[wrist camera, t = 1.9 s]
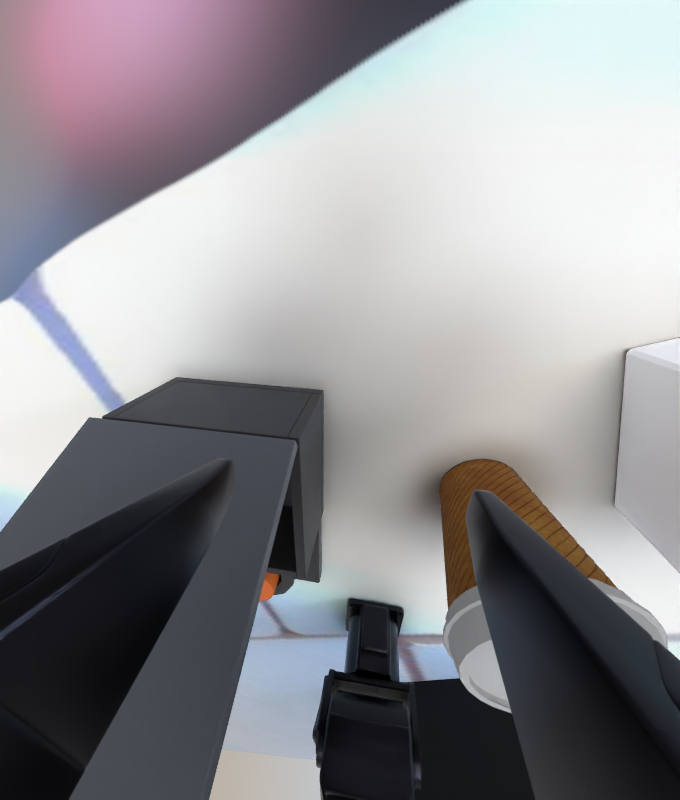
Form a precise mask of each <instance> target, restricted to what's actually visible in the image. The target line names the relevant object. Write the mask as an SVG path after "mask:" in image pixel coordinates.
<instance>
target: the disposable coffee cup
mask: <svg viewBox="0 0 680 800" xmlns="http://www.w3.org/2000/svg"><path fill="white" fill-rule="evenodd" d="M474 490H485V491H490V492H492V493H494V494H495V495H496V496H497V497H498V498H499V499H500V500H502V501H503V502H504V503H505V504H506V505H507V506H508V507H509V508H510V509H512V510H513V511H514V512H515V513H516V514H517V515H518V516H519V517H520V518H522V519H523V520H524V521H525V522H526V523H527V524H528V525H529V526H530V527H532V528H533V529H534V530H535V531H536V532H537V533H538V534H539V535H540V536H542V537H543V538H544V539H545V540H546V541H547V542H548V543H549V544H550V545H552V546H553V547H554V548H555V549H556V550H557V551H558V552H559V553H560V554H562V555H563V556H564V557H565V558H566V559H567V560H568V561H569V562H570V563H572V564H573V565H574V566H575V567H576V568H577V569H578V570H579V571H580V572H582V573H583V574H584V575H585V576H586V577H587V578H588V579H589V580H591V581H592V582H593V583H594V584H595V585H596V586H597V587H598V588H599V589H601V590H602V591H603V592H604V593H605V594H606V595H607V596H608V597H609V598H611V599H612V600H613V601H614V602H615V603H616V604H617V605H618V606H619V607H621V608H622V609H623V610H624V611H625V612H626V613H627V614H628V615H629V616H631V617H632V618H633V619H634V620H635V621H636V622H637V623H638V624H639V625H641V626H642V627H643V628H644V629H645V630H646V631H647V632H648V633H649V634H650V635H651V636H652V638H653V640H657V641H659V642H660V643H661V644H662V645H663V646H664V647H665V648H666V649H667V650H668V644H667V635H666V633H665V630H664V628H663V627H662V625H661V624H660V623H659V622H658V621H657V619H656V618H655V617H654V616H653V615H652V614H651V613H650V612H649V611H648V610H646V609H645V608H643V607H642V606H640V605H639V604H637V603H636V602H634V601H633V600H632V599H631V598H630V597H629V596H628V595H626V594H625V593H624V592H623V591H621V590H619V589H618V588H617V587H616V586H615V585H614V584H613V582H612V581H611V580H610V579H609V578H608V577H607V576H606V575H605V573H604V572H603V571H602V570H601V569H600V568H599V567H598V566H597V565H596V564H595V562H594V560H593V559H592V558H591V557H589V556H588V555H587V554H586V552H585V550H584V549H583V548H582V547H581V546H580V545H579V544H578V543H577V542H576V541H575V539H574V538H573V537H572V536H571V535H570V534H569V532H568V531H567V530H566V529H565V528H564V527H563V526H562V524H561V523H560V522H559V521H558V520H557V519H556V518H555V517H554V516H553V514H552V513H551V512H550V511H549V510H548V508H547V507H545V506H544V505H543V503H542V502H541V501H540V500H539V499H538V498H537V496H536V495H535V494H534V493H533V492H531V489H530V488H529V487H528V486H526V484H525V483H524V482H523V481H522V479H521V478H520V477H519V476H518V475H517V473H516V472H515V471H514V470H513V469H512V468H510V467H509V466H507V465H505V464H503V463H501V462H498V461H493V460H484V459H480V460H472V461H467V462H464V463H462V464H459V465H457V466H456V467H454V468H452V469H451V470H450V471H449V472H448V473H447V474H446V475H445V476H444V478H443V479H442V482H441V484H440V500H441V515H442V529H443V544H444V558H445V573H446V586H447V600H448V612H447V615H446V623H445V626H444V629H443V641H444V646H445V648H446V650H447V652H448V654H449V656H450V657H451V658H452V659H453V660H454V663H455V666H456V669H457V672H458V674H459V677H460V680H461V681H462V683H463V684H464V685H465V687H466V688H467V690H468V691H469V692H470V693H471V694H473V695H474V696H475V697H477V698H478V699H479V700H481V701H483V702H485V703H486V704H488V705H490V706H492V707H495V708H498V709H500V710H503V711H506V712H509V713H511V709H510V705H509V702H508V698H507V694H506V691H505V687H504V683H503V680H502V676H501V672H500V669H499V665H498V661H497V658H496V654H495V650H494V647H493V643H492V639H491V636H490V632H489V628H488V625H487V621H486V617H485V614H484V610H483V606H482V603H481V599H480V595H479V592H478V588H477V583H476V579H475V574H474V568H473V562H472V556H471V549H470V543H469V537H468V531H467V525H466V510H467V507H468V504H469V501H470V498H471V495H472V492H473V491H474Z"/></svg>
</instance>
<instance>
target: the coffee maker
mask: <svg viewBox="0 0 680 800" xmlns="http://www.w3.org/2000/svg"><path fill="white" fill-rule="evenodd" d="M411 683H414V688H415V699H416V709H417V719H418V730H419V741H420V755H421V791H418V790H414V792H415V800H535V797H534V793H533V790H532V786H531V782H530V779H529V775H528V771H527V768H526V764H525V760H524V757H523V753H522V749H521V746H520V742H519V738H518V735H517V731H516V727H515V724H514V720H513V716H512V713H509V712H506V711H503V710H500V709H498V708H495V707H492V706H490V705H488V704H486V703H485V702H483V701H481V700H479V699H478V698H477V697H475V696H474V695H473V694H471V693H470V692H469V691H468V690H467V688H466V687H465V685H464V684H463V683H462V681H461V680H460V679H451V680H438V681H424V682H411Z"/></svg>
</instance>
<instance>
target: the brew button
mask: <svg viewBox="0 0 680 800" xmlns="http://www.w3.org/2000/svg"><path fill="white" fill-rule="evenodd" d="M278 580H279V575H278V574H273V573H267V572H266V575H265V579H264V583H263V587H262V591H261V595H260V599H259V601H265V600H268V599H270V598H271V597H272V596H273V594H274V591H275V589H276V586H277V583H278Z"/></svg>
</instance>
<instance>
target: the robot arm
mask: <svg viewBox="0 0 680 800" xmlns="http://www.w3.org/2000/svg"><path fill="white" fill-rule="evenodd" d="M236 487H237V476H236V471H235V466H234V462H233V460H231V459H226V458H217V459H215V460H213V461H211V462H209V463H207V464H205V465H203V466H201V467H199V468H197V469H195V470H194V471H192V472H190V473H188V474H186V475H184V476H182V477H180V478H178V479H176V480H174V481H172V482H170V483H169V484H167V485H165V486H163V487H161V488H159V489H157V490H155V491H153V492H151V493H149V494H147V495H145V496H143V497H142V498H140V499H138V500H136V501H134V502H132V503H130V504H128V505H126V506H124V507H122V508H120V509H118V510H116V511H115V512H113V513H111V514H109V515H107V516H105V517H103V518H101V519H99V520H97V521H95V522H93V523H91V524H89V525H88V526H86V527H84V528H82V529H80V530H78V531H76V532H74V533H72V534H70V535H69V536H68V538H67V537H64V538H62V539H60V540H58V541H57V542H55V543H53V544H51V545H49V546H47V547H45V548H43V549H41V550H39V551H37V552H35V553H33V554H31V555H29V556H27V557H25V558H23V559H21V560H19V561H17V562H15V563H13V564H11V565H9V566H7V567H5V568H3V569H1V570H0V800H69V799H70V797H71V795H72V793H73V791H74V790H75V788H76V786H77V784H78V782H79V781H80V779H81V777H82V775H83V773H84V772H85V767H87V765H88V764H89V762H90V760H91V759H92V757H93V755H94V753H95V751H96V750H97V748H98V746H99V744H100V742H101V741H102V739H103V737H104V735H105V733H106V732H107V730H108V728H109V726H110V724H111V723H112V721H113V719H114V717H115V716H116V714H117V712H118V710H119V708H120V707H121V705H122V703H123V701H124V699H125V698H126V696H127V694H128V692H129V690H130V689H131V687H132V685H133V683H134V681H135V680H136V678H137V676H138V674H139V673H140V671H141V669H142V667H143V665H144V664H145V662H146V660H147V658H148V656H149V655H150V653H151V651H152V649H153V647H154V646H155V644H156V642H157V640H158V639H159V637H160V635H161V633H162V631H163V630H164V628H165V626H166V624H167V622H168V621H169V619H170V617H171V615H172V613H173V612H174V610H175V608H176V606H177V604H178V603H179V601H180V599H181V597H182V596H183V594H184V592H185V590H186V588H187V587H188V585H189V583H190V581H191V579H192V578H193V576H194V574H195V572H196V570H197V569H198V567H199V565H200V563H201V561H202V560H203V558H204V556H205V554H206V553H207V551H208V549H209V547H210V545H211V543H212V541H213V540H214V538H215V535H216V533H217V531H218V529H219V527H220V524H221V522H222V520H223V518H224V515H225V513H226V511H227V508H228V506H229V504H230V501H231V499H232V497H233V495H234V492H235V490H236ZM466 525H467V531H468V537H469V543H470V549H471V556H472V562H473V568H474V574H475V579H476V583H477V588H478V592H479V595H480V599H481V603H482V606H483V610H484V614H485V617H486V621H487V625H488V628H489V632H490V636H491V639H492V643H493V647H494V650H495V654H496V658H497V661H498V665H499V669H500V672H501V676H502V680H503V683H504V687H505V691H506V694H507V698H508V702H509V705H510V709H511V713H512V716H513V720H514V724H515V727H516V731H517V735H518V738H519V742H520V746H521V749H522V753H523V757H524V760H525V764H526V768H527V771H528V775H529V779H530V782H531V786H532V790H533V793H534V797H535V800H680V660H679V659H677V658H676V657H675V656H674V655H673V654H672V653H671V652H670V651H669V650H667V649H666V648H665V647H664V646H663V645H662V644H661V643H660V642H659V641H657V640H653V638H652V636H651V635H650V634H649V633H648V632H647V631H646V630H645V629H644V628H643V627H642V626H641V625H639V624H638V623H637V622H636V621H635V620H634V619H633V618H632V617H631V616H629V615H628V614H627V613H626V612H625V611H624V610H623V609H622V608H621V607H619V606H618V605H617V604H616V603H615V602H614V601H613V600H612V599H611V598H609V597H608V596H607V595H606V594H605V593H604V592H603V591H602V590H601V589H599V588H598V587H597V586H596V585H595V584H594V583H593V582H592V581H591V580H589V579H588V578H587V577H586V576H585V575H584V574H583V573H582V572H580V571H579V570H578V569H577V568H576V567H575V566H574V565H573V564H572V563H570V562H569V561H568V560H567V559H566V558H565V557H564V556H563V555H562V554H560V553H559V552H558V551H557V550H556V549H555V548H554V547H553V546H552V545H550V544H549V543H548V542H547V541H546V540H545V539H544V538H543V537H542V536H540V535H539V534H538V533H537V532H536V531H535V530H534V529H533V528H532V527H530V526H529V525H528V524H527V523H526V522H525V521H524V520H523V519H522V518H520V517H519V516H518V515H517V514H516V513H515V512H514V511H513V510H512V509H510V508H509V507H508V506H507V505H506V504H505V503H504V502H503V501H502V500H500V499H499V498H498V497H497V496H496V495H495V494H494V493H492V492H490V491H485V490H474V491H473V492H472V495H471V498H470V501H469V504H468V507H467V510H466ZM403 615H404V611H403V609H402V608H399V607H394V606H388V605H383V604H377V603H371V602H366V601H360V600H355V599H349V600H348V605H347V619H346V630H347V631H348V641H347V651H346V661H345V671H344V673H343V672H337V671H335V670H333V669H330V670H329V675H327V676H325V678H324V685H323V691H322V697H321V702H320V706H319V710H318V714H317V717H316V721H315V725H314V729H313V740H314V742H315V744H316V754H317V755H316V765H317V767H318V768H321V770H320V792H321V800H415V792H414V790H418V791H421V755H420V741H419V730H418V719H417V709H416V699H415V688H414V683H402V682H399V657H398V636H399V632H400V628H401V624H402V620H403Z"/></svg>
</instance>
